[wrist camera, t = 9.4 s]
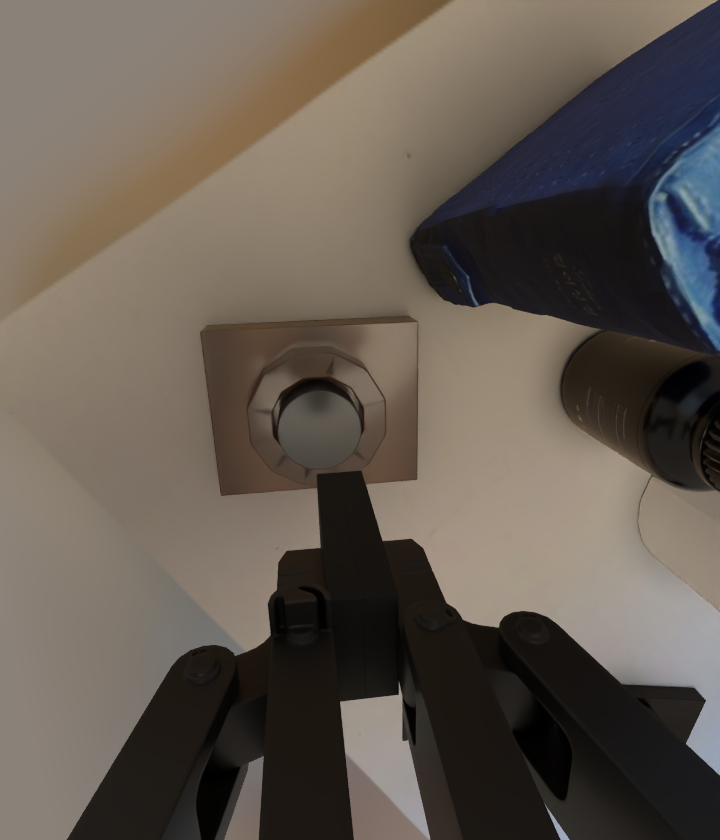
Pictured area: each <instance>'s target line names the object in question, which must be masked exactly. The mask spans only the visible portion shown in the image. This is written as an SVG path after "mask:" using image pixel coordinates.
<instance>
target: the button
mask: <svg viewBox="0 0 720 840" xmlns="http://www.w3.org/2000/svg"><path fill="white" fill-rule="evenodd" d="M361 431H362V427H361V420H360V417H359V414H358V412H357V409H356V407H355V404H354V402H353V401H352V399H351V398H350V396H349V395H348V394H347V393H346V392H345V391H344V390H343V389H341V388H340V387H338V386H336V385H334V384H331V383H327V382H310V383H306V384H303V385H301V386H299V387H297V388H295V389H294V390H293V391H291V392H290V393H289V394H288V395H287V397H286V398H285V399H284V401H283V403H282V405H281V407H280V410H279V415H278V426H277V434H278V440H279V443H280V446H281V448H282V450H283V451H284V453H285V454H286V455H287V456H288V457H289V458H290V459H291V460H292V461H293V462H295V463H296V464H298V465H300V466H303V467H305V468H309V469H317V470H318V469H328V468H332V467H335V466H337V465H339V464H341V463H343V462H344V461H345V460H347V459H348V458H349V457H350V456H351V455H352V454H353V453H354V451H355V450H356V448H357V446H358V444H359V441H360V438H361Z"/></svg>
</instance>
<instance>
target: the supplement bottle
mask: <svg viewBox="0 0 720 840" xmlns="http://www.w3.org/2000/svg"><path fill="white" fill-rule="evenodd" d="M562 395H563V402H564V406H565V409H566V411H567V413H568V415H569V417H570V418H571V420H572V421H573V422H574V423H575V424H576V425H577V426H578V427H579V428H580V429H582V430H583V431H585V432H586V433H588V434H589V435H590V436H592V437H594V438H595V439H597V440H598V441H600V442H601V443H603V444H604V445H606V446H608V447H609V448H611V449H612V450H614V451H615V452H617V453H618V454H620V455H622V456H623V457H625V458H626V459H628V460H629V461H631V462H632V463H634V464H636V465H637V466H639V467H640V468H642V469H643V470H645V471H646V472H648V473H650V474H651V475H653V476H654V477H656V478H657V479H659V480H661V481H663V482H664V483H666V484H668V485H670V486H672V487H675V488H677V489H681V490H685V491H692V492H708V491H716V490H717V491H719V492H720V356H710V355H705V354H702V353H699V352H695V351H692V350H688V349H684V348H681V347H677V346H674V345H670V344H666V343H663V342H658V341H654V340H650V339H646V338H641V337H637V336H632V335H628V334H623V333H619V332H614V331H609V330H608V331H605V332H603V333H600V334H598V335H597V336H595V337H593V338H592V339H590V340H589V341H588V342H586V343H585V344H584V345H583V346H582V347H581V348H580V349H579V350H578V351H577V353H576V354H575V355H574V357H573V358H572V360H571V361H570V363H569V365H568V367H567V370H566V372H565V375H564V380H563V386H562Z"/></svg>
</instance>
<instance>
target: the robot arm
mask: <svg viewBox="0 0 720 840" xmlns="http://www.w3.org/2000/svg"><path fill="white" fill-rule="evenodd" d="M317 491H318V509H319V526H320V543H321V548H316V549H304V550H293V551H286V553H285V554H284V555H283V557H282V558H281V560H280V561H279V563H278V581H277V591H276V592H275V593H274V594H273V595H271V597H270V600H269V602H268V610H269V620H270V630H271V635H270V637H269V638H268V639H267V640H266V641H265V642H264V643H262V644H261V645H260V646H258V647H257V648H255V649H252V650H250V651H248V652H245V653H243V654H240V655H237V656H234V653H233V652H231V651H230V650H229V649H227V648H226V647H221V646H217V645H210V646H202V647H199V648H196V649H193V650H190V651H189V652H187V653H186V654H184V655H183V656H181V657H180V658H179V659H178V660H177V661H176V662H175V663H174V664H173V666H172V667H171V668H170V670H169V672H168V673H167V675H166V677H165V678H164V680H163V682H162V683H161V685H160V687H159V688H158V690H157V691H156V693H155V695H154V696H153V698H152V700H151V702H150V703H149V705H148V707H147V708H146V710H145V711H144V713H143V715H142V716H141V718H140V720H139V721H138V723H137V725H136V726H135V728H134V730H133V731H132V733H131V734H130V736H129V738H128V740H127V741H126V743H125V745H124V746H123V748H122V749H121V751H120V753H119V755H118V756H117V758H116V759H115V761H114V763H113V764H112V766H111V768H110V769H109V771H108V773H107V774H106V776H105V778H104V779H103V781H102V782H101V784H100V786H99V787H98V789H97V791H96V792H95V794H94V796H93V797H92V799H91V801H90V802H89V804H88V806H87V807H86V809H85V811H84V812H83V814H82V816H81V817H80V819H79V821H78V822H77V824H76V826H75V827H74V829H73V831H72V832H71V834H70V835H69V837H68V839H67V840H224V838H225V835H226V832H227V829H228V826H229V823H230V821H231V818H232V815H233V812H234V809H235V806H236V803H237V800H238V797H239V794H240V791H241V788H242V785H243V782H244V779H245V777H246V774H247V771H248V763H249V762H251V761H253V760H255V759H258V758H260V757H262V756H264V763H263V780H262V796H261V812H260V830H259V840H354V838H353V828H352V817H351V807H350V798H349V788H348V778H347V768H346V758H345V748H344V738H343V728H342V718H341V708H340V701H348V700H357V699H365V698H374V697H382V696H390V695H399V683H400V687H401V692H402V696H403V741H406V740H408V741H409V745H410V750H411V754H412V759H413V763H414V768H415V772H416V776H417V781H418V785H419V790H420V794H421V799H422V803H423V807H424V812H425V816H426V821H427V825H428V830H429V834H430V839H431V840H560V838H559V835H558V833H557V831H556V829H555V826H554V824H553V822H552V820H551V817H550V815H549V813H548V811H547V808H548V809H549V810H550V812H551V813H552V815H553V816H554V818H555V819H556V820H557V822H558V823H559V825H560V826H561V828H562V829H563V830H564V832H565V833H566V835H567V836H568V838H569V839H570V840H720V775H718V774H717V773H716V772H715V771H714V770H713V769H712V768H711V767H710V766H709V765H708V764H707V763H706V762H705V761H703V760H702V759H701V758H700V757H699V756H698V755H697V754H696V753H695V752H694V751H693V750H692V749H691V748H690V747H688V746H687V745H686V744H685V743H684V742H683V741H682V740H681V739H680V738H679V737H678V736H677V735H676V734H674V733H673V732H672V731H671V730H670V729H669V728H668V727H667V726H666V725H665V724H664V723H663V722H662V721H661V720H659V719H658V718H657V717H656V716H655V715H654V714H653V713H652V712H651V711H650V710H649V709H648V708H647V707H646V706H644V705H643V704H642V703H641V702H640V701H639V700H638V699H637V698H636V697H635V696H634V695H633V694H632V693H630V692H629V691H628V690H627V689H626V688H625V687H624V686H623V685H622V684H621V683H620V682H619V681H618V680H617V679H615V678H614V677H613V676H612V675H611V674H610V673H609V672H608V671H607V670H606V669H605V668H604V667H603V666H602V665H600V664H599V663H598V662H597V661H596V660H595V659H594V658H593V657H592V656H591V655H590V654H589V653H588V652H586V651H585V650H584V649H583V648H582V647H581V646H580V645H579V644H578V643H577V642H576V641H575V640H574V639H573V638H571V637H570V636H569V635H568V634H567V633H566V632H565V631H564V630H563V629H562V628H561V627H560V626H559V625H558V624H556V623H555V622H553V621H552V620H551V619H549V618H548V617H546V616H543V615H540V614H538V613H534V612H527V611H520V612H513V613H510V614H509V615H507V616H505V617H504V618H503V619H502V621H501V622H500V624H499V628H496V627H489V626H482V625H477V624H472V623H469V622H467V621H464V620H462V617H461V616H460V614H459V613H458V612H457V610H456V609H455V608H453V607H452V606H450V605H448V604H447V603H446V601H445V599H444V597H443V594H442V592H441V590H440V587H439V585H438V582H437V580H436V578H435V575H434V573H433V571H432V568H431V566H430V564H429V562H428V559H427V557H426V554H425V552H424V549H423V548H422V547H421V546H420V545H418V544H417V543H416V542H415V541H414V540H412V539H404V540H393V541H382V538H381V535H380V531H379V528H378V524H377V521H376V518H375V514H374V511H373V508H372V504H371V501H370V497H369V494H368V491H367V487H366V484H365V481H364V477H363V474H362V471H349V472H335V473H321V474H317ZM544 803H545V804H544ZM545 805H546V806H547V808H546V806H545Z"/></svg>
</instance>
